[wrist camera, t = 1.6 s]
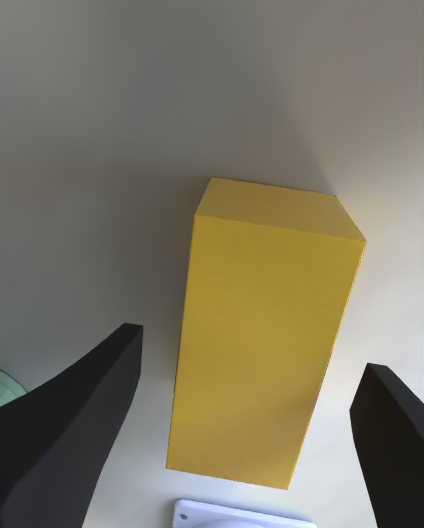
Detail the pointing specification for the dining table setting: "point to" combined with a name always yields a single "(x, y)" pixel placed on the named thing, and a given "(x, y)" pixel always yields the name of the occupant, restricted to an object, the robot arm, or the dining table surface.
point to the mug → (9, 389)
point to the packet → (258, 327)
